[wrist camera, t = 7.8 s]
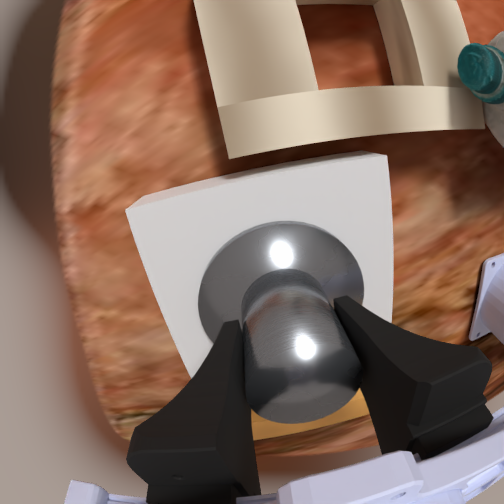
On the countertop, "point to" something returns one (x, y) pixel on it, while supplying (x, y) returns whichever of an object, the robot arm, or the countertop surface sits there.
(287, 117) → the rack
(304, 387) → the glossy grey dome knob
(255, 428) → the bar
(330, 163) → the socket block
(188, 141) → the countertop surface
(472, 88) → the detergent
